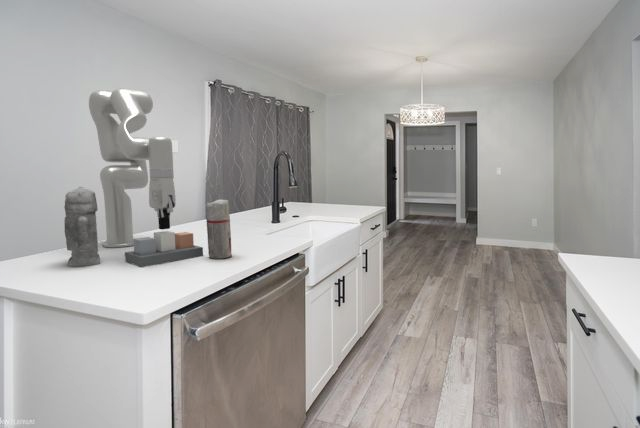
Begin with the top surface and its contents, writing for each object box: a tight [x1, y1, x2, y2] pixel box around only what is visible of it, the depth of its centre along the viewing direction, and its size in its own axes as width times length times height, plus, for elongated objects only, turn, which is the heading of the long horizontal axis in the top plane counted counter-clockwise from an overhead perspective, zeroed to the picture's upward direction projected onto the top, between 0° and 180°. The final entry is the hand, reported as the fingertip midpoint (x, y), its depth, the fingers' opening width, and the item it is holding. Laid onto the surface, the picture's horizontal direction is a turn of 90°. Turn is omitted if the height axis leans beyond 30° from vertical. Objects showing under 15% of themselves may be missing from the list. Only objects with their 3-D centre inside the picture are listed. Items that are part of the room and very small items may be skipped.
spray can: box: [205, 199, 233, 260], centre depth 146 cm, size 8×8×20 cm
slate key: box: [133, 236, 156, 256], centre depth 139 cm, size 5×5×6 cm
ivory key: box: [153, 230, 175, 252], centre depth 144 cm, size 5×5×6 cm
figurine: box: [63, 186, 101, 267], centre depth 137 cm, size 10×14×25 cm
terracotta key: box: [175, 231, 194, 249], centre depth 149 cm, size 5×5×6 cm
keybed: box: [124, 244, 204, 268], centre depth 145 cm, size 12×22×3 cm, turn 138°
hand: (164, 228), depth 143 cm, fingers closed
